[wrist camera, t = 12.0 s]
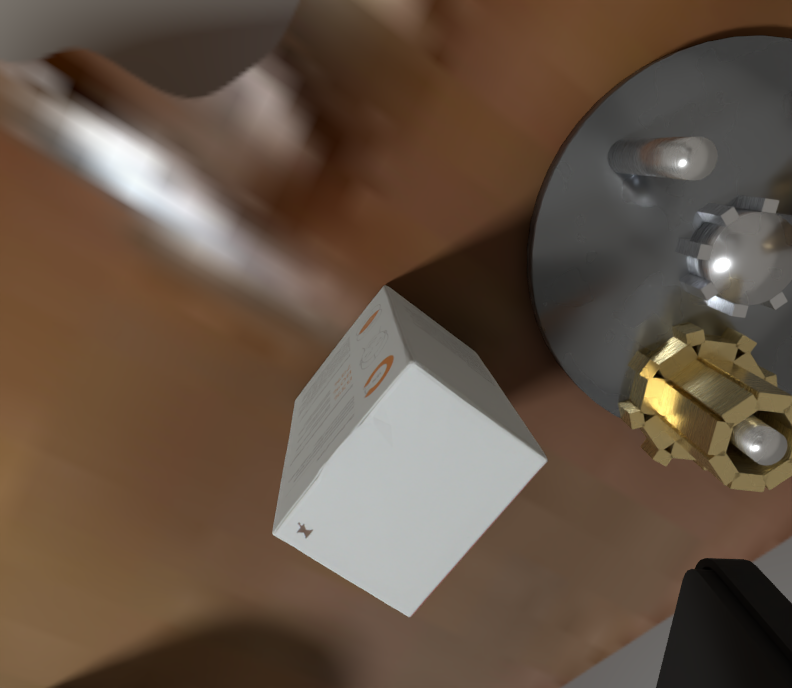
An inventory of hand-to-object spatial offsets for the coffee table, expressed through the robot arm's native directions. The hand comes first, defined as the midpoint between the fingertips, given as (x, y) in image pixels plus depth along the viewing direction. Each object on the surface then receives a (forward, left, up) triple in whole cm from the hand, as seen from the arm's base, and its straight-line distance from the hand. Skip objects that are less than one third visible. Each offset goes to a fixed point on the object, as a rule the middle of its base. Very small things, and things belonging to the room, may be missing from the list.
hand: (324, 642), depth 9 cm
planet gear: (+4, +19, -26) cm, 32 cm away
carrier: (-4, +19, -27) cm, 33 cm away
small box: (+5, +3, -27) cm, 28 cm away
